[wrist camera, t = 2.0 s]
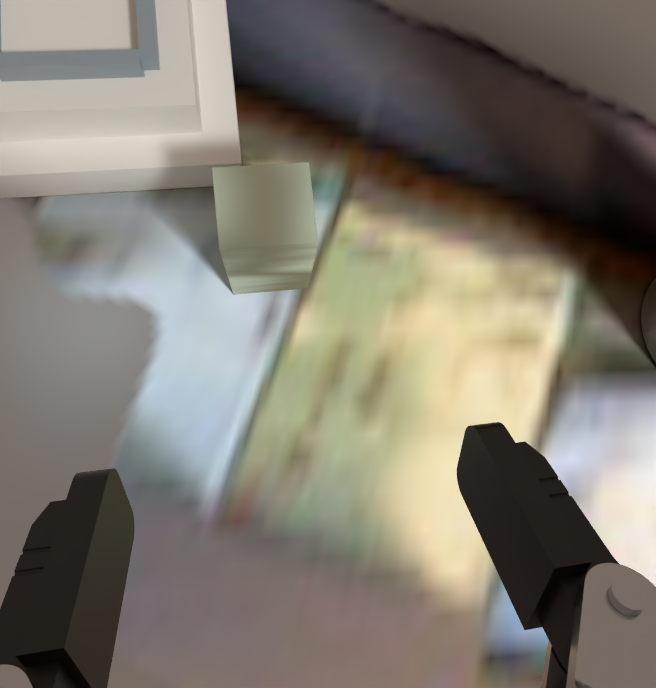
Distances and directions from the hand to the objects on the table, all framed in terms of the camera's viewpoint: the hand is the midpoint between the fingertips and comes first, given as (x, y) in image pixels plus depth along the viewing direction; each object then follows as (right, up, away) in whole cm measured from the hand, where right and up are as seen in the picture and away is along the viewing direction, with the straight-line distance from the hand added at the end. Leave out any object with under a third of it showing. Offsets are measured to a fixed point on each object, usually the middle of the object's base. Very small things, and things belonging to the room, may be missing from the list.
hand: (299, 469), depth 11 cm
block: (-3, +8, +18) cm, 20 cm away
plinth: (-13, +20, +19) cm, 31 cm away
